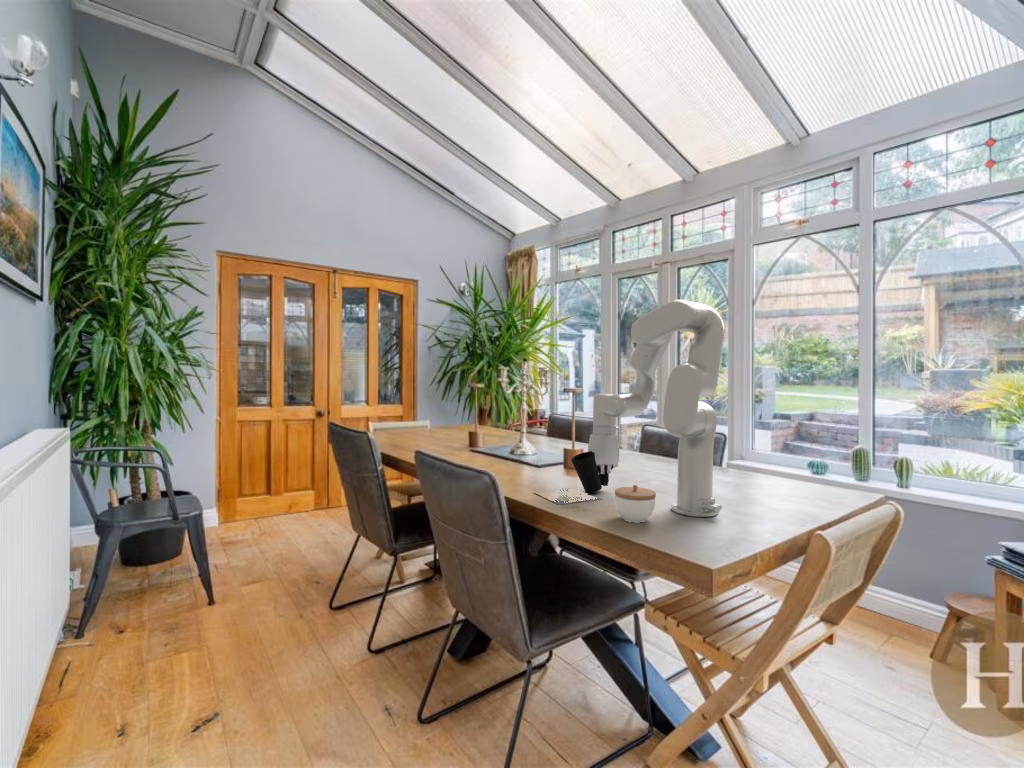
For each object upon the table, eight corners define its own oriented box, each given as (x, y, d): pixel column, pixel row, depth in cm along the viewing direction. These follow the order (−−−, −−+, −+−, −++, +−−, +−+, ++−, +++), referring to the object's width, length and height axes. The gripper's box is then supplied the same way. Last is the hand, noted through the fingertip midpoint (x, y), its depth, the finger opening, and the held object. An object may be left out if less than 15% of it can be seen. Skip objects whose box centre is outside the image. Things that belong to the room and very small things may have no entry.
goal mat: (602, 499, 157) (602, 498, 157) (558, 505, 150) (558, 504, 150) (573, 488, 171) (573, 487, 171) (532, 493, 164) (532, 492, 164)
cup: (606, 489, 161) (594, 455, 160) (583, 497, 162) (572, 462, 161) (603, 482, 169) (591, 449, 168) (581, 489, 169) (570, 456, 168)
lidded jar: (632, 528, 129) (633, 491, 128) (606, 517, 138) (606, 483, 138) (663, 522, 134) (664, 487, 133) (636, 512, 143) (637, 479, 143)
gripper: (617, 428, 174) (616, 481, 174) (579, 430, 168) (578, 484, 169) (629, 431, 167) (628, 485, 167) (590, 432, 161) (589, 489, 162)
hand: (603, 484), depth 168 cm, fingers closed
